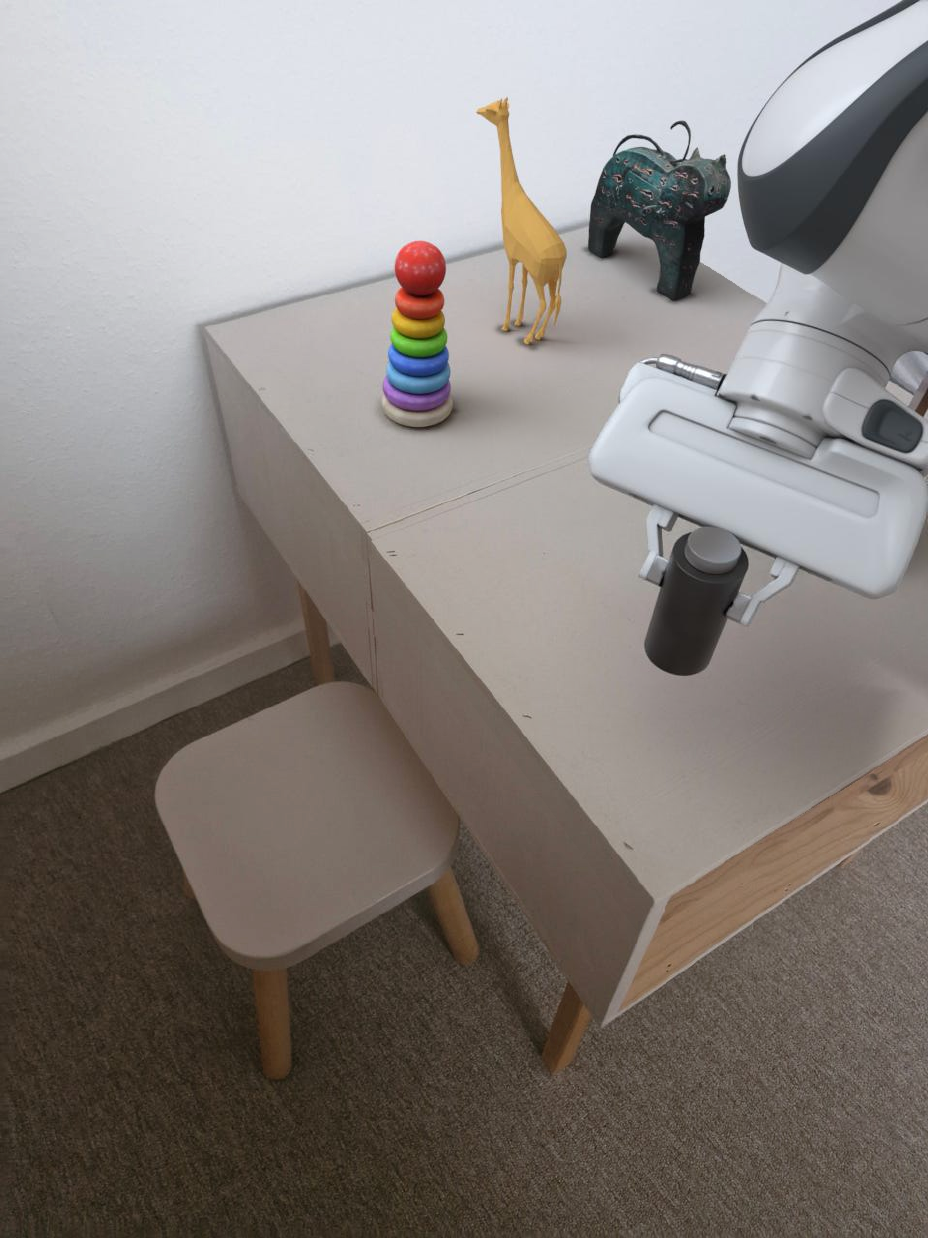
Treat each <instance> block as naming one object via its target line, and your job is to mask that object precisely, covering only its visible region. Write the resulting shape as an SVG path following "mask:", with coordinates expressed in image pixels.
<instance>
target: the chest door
mask: <svg viewBox="0 0 928 1238" xmlns="http://www.w3.org/2000/svg"><path fill="white" fill-rule="evenodd" d="M907 406H908V407H910V408H911V409H912V410H914V411H915V412H916V413H918V414H919V415H921V416H922V417H923V418H925V416H926V413H927V411H928V370H926V373H925V374H924V376H923V378H922V380H921V381H920V383H919V385H918V387H917V389H916V391H915V393H914V395H913V397H912V399H911V400H910V402H909V404H908V405H907Z"/></svg>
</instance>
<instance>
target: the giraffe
mask: <svg viewBox="0 0 928 1238" xmlns="http://www.w3.org/2000/svg"><path fill="white" fill-rule="evenodd" d="M508 101H509V98H508V96H506V97H505V98H504V99H503V98H502V97H501V98H500V99H498V100H496V101H493V102H491V103H489V104H487V105H486V106H483V107H480V108H477V110H476V111H475V113H476V114H477V115H480V116H481V117H483V118H484V119H486V120H487V121H488V122H490V123H491V124H492V125H494V126H495V127H496V132H497V138H498V145H499V157H500V158H499V160H500V186H501V187H500V191H501V193H500V194H501V204H500V205H501V206H500V216H501V217H500V219H501V231H502V243H503V248H504V251H505V254H506V257H507V260H508V285H507V289H508V295H507V306H506V308H507V309H506V314H505V318H504V322H503V326H502V327H501V330H502V331H503V332H508V331H509V326H510V324H511V311H512V300H513V292H514V289H515V285H514V284H515V283H514V281H515V274H516V273H515V272H516V265H518V263H521V265H522V267H521V268H522V270H521V286H522V287H521V288H522V289H521V290H522V291H521V299H520V306H519V310H518V315H517V319H516V321H515V322H514V326H516V327H520V326H521V325H522V321H523V319H524V308H525V299H526V293H527V287H528V282H529V281H528V275H529V277H530V278H531V279H532V281H533V284H534V287H535V290H536V293H537V296H538V300H539V308H538V310H537V314H536V318H535V321H534V323H533V326H532V328H531V330H530V332H529V333H528V334H527V335H526V337H524V340H523V344H525V345H528V346H529V345H531V342H534V338H535V340H538V341H541V338H543V337H545V335H546V329H547V326H548V324H549V321H550V318H551V316H552V314H553V313H554V321H553V327H556V322H557V319H558V316H559V313H560V311H561V305H562V298H561V294H560V292H561V285H562V275H563V268H564V266H565V263H566V260H567V255H568V253H567V252H568V251H567V248H566V245H565V242H564V241H563V239H562V238H561V236H560V235H559V233H558V232H557V231H556V230H555V227H554V226H553V225H552V224H551V223H550V222H549V220H548V219H547V218H546V216H545V215H543V213H542V212H541V211H540V209H539V208H538V207H537V205H535V203H534V202H533V201H532V199H530V197H529V196H528V195H527V194H526V192H525V190H524V188H523V186H522V185H521V182H520V179H519V175H518V172H517V169H516V163H515V158H514V154H513V149H512V144H511V143H512V142H511V138H510V125H509V118H510V112H509V108H510V103H509V102H508ZM557 284H558V285H557ZM546 285H547V286H548V291H549V292H548V293H549V299H550V300H549V304H548V305H549V306H548V309H547V302H546V296H545V286H546ZM546 310H547V314H546V316H545V319H544V321H543V324H542V326H541V328H539V329H538V331H537V333H536V330H537V328H538V325H539V323H540V320H541V319H542V317H543V315H544V313H545V312H546ZM554 310H555V311H554Z"/></svg>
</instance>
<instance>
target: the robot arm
mask: <svg viewBox="0 0 928 1238" xmlns="http://www.w3.org/2000/svg"><path fill="white" fill-rule="evenodd" d="M736 168H737V170H736V171H737V173H736V175H737V177H736V178H737V193H738V201H739V208H740V213H741V217H742V222H743V225H744V228H745V232H746V235H747V238H748V242H749V244H750V246H751V247H752V248H753V249H754V250H755V251H756V252H759V253H761V254H763V255H765V256H768V257H769V258H771V259H773V260H775V261H777V262H779V263H781V265H780V267H779V272H778V279H777V283H776V286H775V289H774V291H773V293H772V295H771V297H770V299H769V300H768V301H767V303H766V304H765V306H764V307H763V308H761V310H760V312H758V313H757V315H756V316H755V317H754V319H753V320H752V322H751V323H750V325H749V328H748V330H747V332H746V334H745V336H744V338H743V340H742V342H741V344H740V346H739V348H738V350H737V353H736V354H735V357H734V358H733V360H732V362H731V365H730V366H729V368H728V371H727V373H722V372H721V371H716V370H714V369H712V368H709V367H706V366H702V365H697V364H693V363H690V362H686V361H683V360H682V359H681V358H680V357H677V356H675V355H672V354H667V353H662V354H660V355H659V356H653V357H652V356H651V357H650V356H649V357H646V358H643V359H641V360H640V361H638V362H636V363H634V364H633V366H632V367H631V368H630V369H629V371H628V373H627V375H626V377H625V378H624V381H623V383H622V386H621V388H620V390H619V394H618V404H617V406H616V408H615V409H614V410H613V412H612V414H611V415H610V417H609V418H608V419H607V421H606V423H605V424H604V426H603V428H602V430H601V431H600V433H599V435H598V436H597V438H596V439H595V442H594V444H593V445H592V448H591V449H590V451H589V454H588V455H587V465H588V469H589V473H590V475H591V477H592V478H593V479H594V480H595V481H597V482H598V483H599V484H601V485H603V486H605V487H607V488H610V489H612V490H614V491H617V492H619V493H621V494H623V495H625V496H628V497H631V498H633V499H635V500H638V501H640V502H643V503H645V504H647V505H649V506H652V507H651V509H650V512H649V513H648V515H647V516H646V519H645V524H646V535H647V537H646V539H647V550H648V555H647V557H646V559H645V560H644V563H643V564H642V566H641V569H640V570H639V575H638V578H640V579H642V580H644V581H646V582H648V583H650V584H653V585H654V586H657V587H659V588H661V585H662V582H663V579H664V575H665V572H666V569H667V565H668V562H669V559H667V558H665V557H664V543H663V531H666V532H668V533H669V532H672V530H673V528H674V527H675V526H674V525H675V524H676V522H677V520H678V518H680V519H681V520H684V521H686V522H689V523H691V524H694V525H696V526H698V527H699V528H702V527H717V528H721V529H724V530H726V531H728V532H730V533H731V534H733V535H734V536H735V537H736V538H737V539H738V541H739V542H740V545H741V546H742V545H743V546H744V547H747V548H750V549H752V550H753V551H754V550H755V551H756V552H759V553H761V554H763V555H766V556H768V557H770V558H773V559H775V560H774V562H773V564H772V566H771V567H770V569H769V574H770V576H771V578H773V579H774V580H772V581H770V582H769V583H767V584H766V585H764V586H763V587H762V588H760V589H759V590H757V591H755V592H754V593H752V594H751V595H748V594H746V593H743V592H741V591H739V592H738V593H737V595H736V597H735V598H734V600H733V606H731V607H729V609H728V611H727V613H726V616H725V617H726V618H728V619H727V620H730V621H732V622H735V623H736V624H739V625H741V626H743V627H746V628H747V629H748V628H749V627H750V625H751V624H752V622H753V620H754V618H755V616H756V614H757V612H758V610H759V609H760V606H761V604H765V603H766V602H768V601H769V600H771V599H772V598H774V597H775V596H777V595H778V594H780V593H782V592H783V591H784V590H786V589H788V588H789V587H791V586H792V584H793V582H794V580H795V578H796V576H797V574H798V572H799V570H801V571H803V572H805V573H807V574H810V575H812V576H815V577H817V578H820V579H822V580H824V581H826V582H829V583H831V584H834V585H836V586H838V587H840V588H843V589H845V590H848V591H850V592H852V593H854V594H857V595H860V596H862V597H863V598H866V599H868V600H872V601H874V600H879V599H882V598H885V597H888V596H890V595H892V594H893V593H894V592H895V591H896V590H897V589H898V587H899V585H900V583H901V581H902V580H903V577H904V575H905V573H906V571H907V569H908V567H909V564H911V563H910V562H911V560H912V558H913V556H914V553H915V550H916V549H917V546H918V543H919V540H920V537H921V534H922V531H923V530H924V529H923V528H924V525H925V522H926V519H927V516H928V482H927V480H926V478H925V477H926V476H927V475H928V419H926V418H925V417H922V416H921V415H919V414H918V413H916V412H915V411H914V410H912V409H911V408H910V407H908V406H909V405H907V404H906V403H904V402H903V401H901V400H900V399H899V398H898V397H897V396H896V395H894V394H893V393H891V391H889V390H888V389H886V387H887V385H888V383H889V382H890V380H891V377H892V373H893V370H894V367H895V365H896V363H897V362H898V360H899V359H900V358H901V357H902V356H904V355H905V354H907V353H911V352H920V353H923V354H925V355H926V356H928V0H900V1H899V2H897V3H896V4H894V5H893V6H890V7H888V8H887V9H885V10H884V11H882V12H880V13H878V14H876V15H875V16H873V17H871V18H869V19H868V20H866V21H865V22H862V23H860V24H859V25H857V26H855V27H853V28H851V29H850V30H847V31H846V32H844V33H843V34H841V35H839V36H837V37H836V38H834V39H832V40H831V41H829V42H828V43H826V44H825V45H824V46H821V47H820V48H819V49H817V50H816V51H814V53H812V54H811V55H810V56H808V57H807V58H806V59H805V60H804V61H802V62H801V63H800V64H799V65H798V66H797V67H795V69H794V70H793V71H792V72H791V73H790V74H789V75H788V76H787V77H786V78H785V79H784V80H783V81H782V82H781V84H780V85H778V87H777V89H775V91H774V92H773V93H772V94H771V96H770V97H769V99H768V100H767V101H766V102H765V104H764V106H763V107H762V108H761V109H760V111H759V113H758V114H757V116H756V117H755V119H754V120H753V122H752V124H751V126H750V128H749V129H748V132H747V133H746V135H745V138H744V140H743V143H742V145H741V148H740V151H739V154H738V158H737V167H736ZM653 364H654V365H655V367H654V366H652V365H653Z"/></svg>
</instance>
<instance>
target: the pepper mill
mask: <svg viewBox="0 0 928 1238" xmlns="http://www.w3.org/2000/svg"><path fill="white" fill-rule="evenodd" d="M668 560H669V562H668V565H667V569H666V572H665V575H664V579H663V582H662V585H661V587H659V592H658V596H657V597H656V598H657V599H656V602H655V605H654V608H653V612H652V615H651V618H650V621H649V624H648V628H647V632H646V634H645V638H644V641H643V648H644V652H645V655H646V657H647V658H648V660H649V662H651V663H652V664H653V666H655V667H656V668H658V669H660V670H661V671H663V672H664V673H667V674H669V675H672V676H678V677H689V676H694V675H697V674H700V673H702V672H703V671H705V670H706V668H708V666H709V665H710V663H711V661H712V659H713V656H714V653H715V652H716V649H717V646H718V643H719V641H720V639H721V636H722V633H723V631H724V629H725V627H726V623H727V622H728V620H729V619H728V618H726V617H725V616H726V613H727V611H728V609H729V607H731V606H733V605H734V604H733V600H734V598H735V597H736V595H737V593H738V592H740V589H741V587H742V584H743V582H744V580H745V577H746V574H747V572H748V569H749V566H750V564H749V557H748V554H747V551H745V549H744V548H743V546H742V544H740V542H739V541H738V539H737V538H736V537H735V536H734V535H733V534H731V533H730V532H728V531H726V530H724V529H721V528H717V527H698V528H696V529H694V530H693V531H689V532H688V533H685V534H683V535H681V536H680V537H679V538H677V539H676V541H675V542H674V544H673V546H672V549H671V552H670V556H669V559H668Z"/></svg>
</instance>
